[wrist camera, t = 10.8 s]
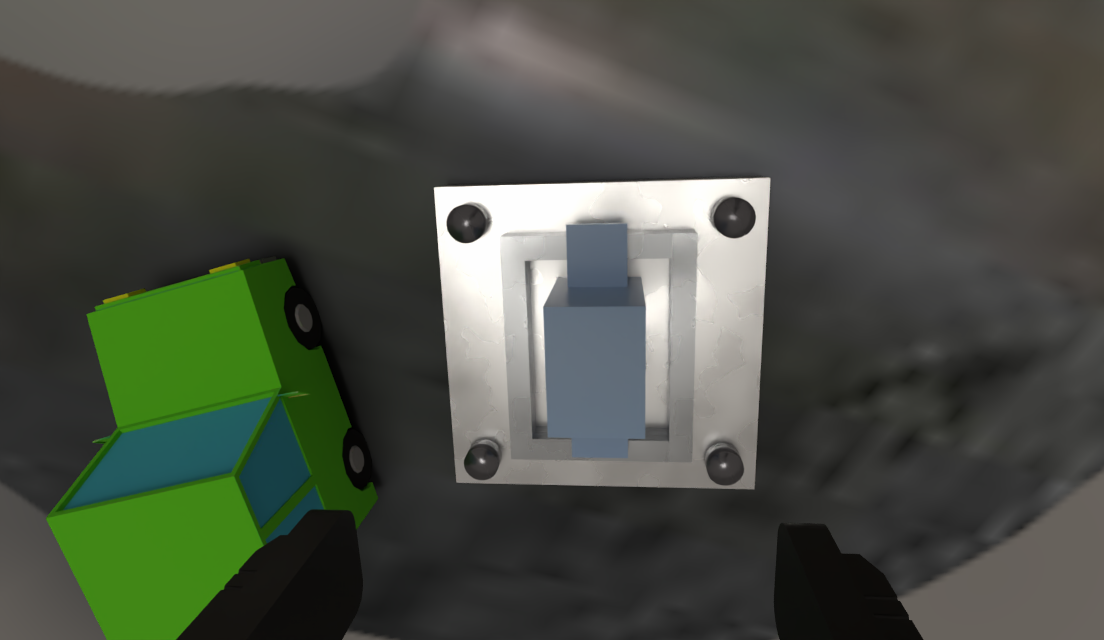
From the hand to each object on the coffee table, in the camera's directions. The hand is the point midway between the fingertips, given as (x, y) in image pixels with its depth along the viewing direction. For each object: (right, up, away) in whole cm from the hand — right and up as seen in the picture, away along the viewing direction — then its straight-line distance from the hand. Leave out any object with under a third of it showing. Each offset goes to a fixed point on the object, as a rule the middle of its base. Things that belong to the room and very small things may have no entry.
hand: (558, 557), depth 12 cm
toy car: (-15, +1, +21) cm, 26 cm away
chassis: (+2, +4, +18) cm, 19 cm away
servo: (+2, +4, +16) cm, 17 cm away
